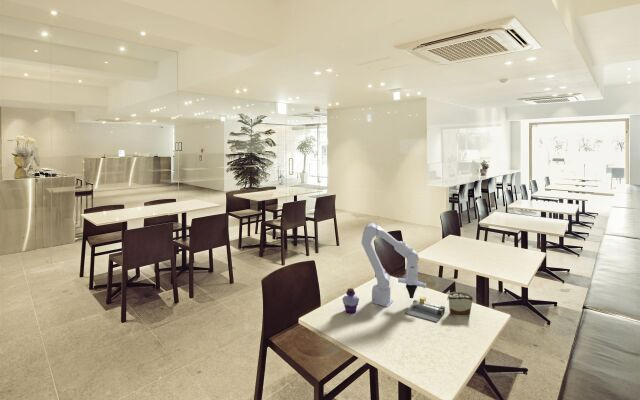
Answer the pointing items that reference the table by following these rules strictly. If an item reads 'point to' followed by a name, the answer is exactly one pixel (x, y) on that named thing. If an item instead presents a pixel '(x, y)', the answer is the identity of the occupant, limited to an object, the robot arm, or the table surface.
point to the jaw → (427, 308)
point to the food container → (460, 303)
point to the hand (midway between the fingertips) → (411, 297)
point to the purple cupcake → (350, 301)
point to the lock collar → (423, 300)
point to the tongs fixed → (434, 305)
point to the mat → (422, 314)
